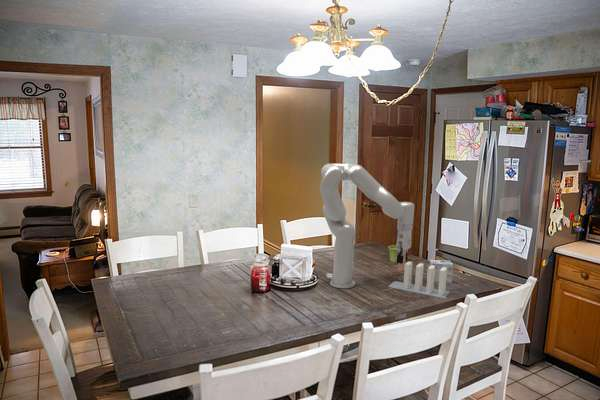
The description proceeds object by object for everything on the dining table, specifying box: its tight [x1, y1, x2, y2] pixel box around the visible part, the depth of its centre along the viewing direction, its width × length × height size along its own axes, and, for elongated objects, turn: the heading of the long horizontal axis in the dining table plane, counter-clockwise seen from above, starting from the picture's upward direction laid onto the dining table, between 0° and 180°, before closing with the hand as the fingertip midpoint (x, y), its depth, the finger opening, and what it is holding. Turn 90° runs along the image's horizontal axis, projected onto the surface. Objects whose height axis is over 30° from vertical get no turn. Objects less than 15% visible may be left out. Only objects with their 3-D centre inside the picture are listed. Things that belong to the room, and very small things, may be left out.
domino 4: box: [425, 265, 435, 294], centre depth 212 cm, size 2×6×12 cm, turn 149°
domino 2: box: [403, 260, 413, 289], centre depth 218 cm, size 2×6×12 cm, turn 149°
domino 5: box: [438, 267, 447, 296], centre depth 210 cm, size 2×6×12 cm, turn 149°
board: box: [388, 280, 450, 299], centre depth 216 cm, size 27×10×1 cm, turn 59°
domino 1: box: [396, 248, 406, 272], centre depth 227 cm, size 2×6×12 cm, turn 150°
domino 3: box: [414, 262, 425, 291], centre depth 215 cm, size 2×6×12 cm, turn 149°
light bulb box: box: [429, 259, 454, 283], centre depth 230 cm, size 11×7×11 cm, turn 84°
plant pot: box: [388, 244, 398, 264], centre depth 264 cm, size 9×9×9 cm
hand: (401, 261), depth 228 cm, fingers closed on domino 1, 5 cm apart
